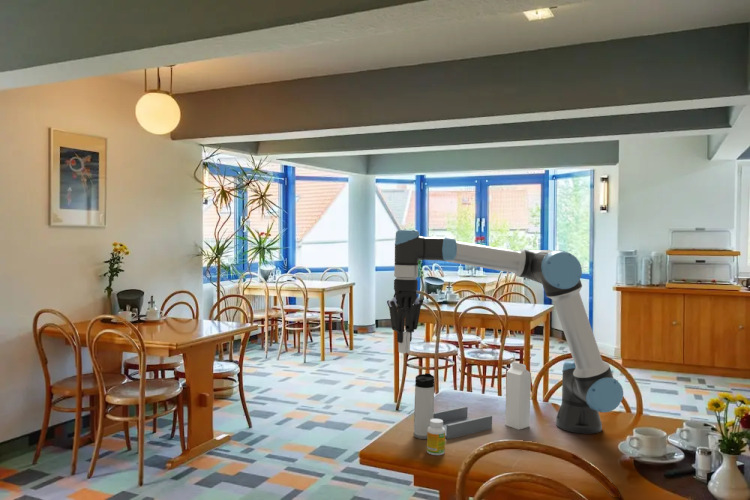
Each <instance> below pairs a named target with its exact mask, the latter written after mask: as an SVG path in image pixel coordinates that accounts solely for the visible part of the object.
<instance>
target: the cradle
mask: <svg viewBox="0 0 750 500" xmlns="http://www.w3.org/2000/svg"><path fill="white" fill-rule="evenodd" d="M468 408H469V407H468V406H467V405H464V406H461V407H455V408H451V409H446V410H441V411H435V412H434V416H433V419H441V420H443V426H442V427H443V428H444V429H445V439H447V440H451V439H455V438H459V437H463V436H468V435H472V434H475V433H479V432H484V431H488V430H492V429H493V415H491V414H490V415H485V416H480V417H475V418H471V417H469V416H468V412H469V411H468Z"/></svg>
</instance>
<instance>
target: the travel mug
mask: <svg viewBox="0 0 750 500" xmlns="http://www.w3.org/2000/svg"><path fill="white" fill-rule="evenodd" d="M434 403H435V376H434V375H432V373H421V374H418V375H417V374H416V376H415V382H414V410H413V411H414V412H413V413H414V414H413V415H414V417H413V421H414V422H413V436H414V438H417V439H419V440H427V430H428V427H430V420H431V419H433V416H434V413H435V412H434V408H435V405H434Z"/></svg>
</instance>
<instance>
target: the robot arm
mask: <svg viewBox="0 0 750 500" xmlns="http://www.w3.org/2000/svg"><path fill="white" fill-rule="evenodd" d="M394 239H395V241H394V270H393V272H394V275H393V276H394V277H395V278H394V279H393V290H394V294H393V298H392V299H390V300H387V301H386V303H387V304H386V305H387V306H388V309H389V316H390V323H391V329H392V331H394V332H396V334H397V335H396V336H397V337H396V341H397V343H398V353H401V354H403V355H405V354H410V353H411V352H410V351H411V342H412V338H413V337H412V335H413V333H414V332H415V330H417V329H418V327H419V325H418V324H419V319H420V314H421V308H422V305H423V303H424V299H420V298H419V297H418V294H417V292H418V287H419V286H418V283H419V281H418V279H417V278H418V277H419V261H441V262H448V263H452V264H453V263H454V264H460V265H465V266H470V267H478V268H482V269H489V270H495V271H501V272H505V273H507V272H508V273H512V274H514V275H515V276H516V277H517V278H525V279H528V280H531V281H533V282H537V283H538V284H542V288H543V289H544V294H545V296H546V298H549V299H551V300H552V302H553V304H554V307H555V310H556V313H557V315H558V316H557V317H558V319H559V322H560V325H561V328H562V331H563V333H564V336H565V340H566V342H567V345H568V348H569V351H570V354H571V358H572V360H568V361H567V360H566V361H565V362H564V363H563V366H562V371H561V372H562V377H561V378H562V384H561V387H562V388H561V404H560V407H559V408H558V412H557V414H556V419H555V425H556V426H557V427H558V428H559V429H561V430H564V431H566V432H571V433H575V434H576V433H577V434H585V435H591V434H593V435H594V434H598V433H600V432H602V430H603V429H602V428H603V426H602V425H603V424H602V420H601V417H600V413H610V412H613V411H614V410H615V409H617V408H618V407H619V406H620V404H621V402H622V401H623V398H624V388H623V387H622V384H621V383H620V382H619V380H618V379H616V378H614V375H613V372H612V369H611V367H610V364H609V363H608V362H606V361H604V360H603V358H602V355H601V353H600V349H599V347H598V344H597V343H598V342H597V341H596V337H595V335H594V332H593V328H592V326H591V323H590V320H589V318H588V314H587V311H586V309H585V306H584V302H583V300H582V296H581V293H580V291H581V289H582V288H583V285H582V284H583V283H582V281H581V277H582V274H583V270H582V265H581V262H580V261H579V259H578V258H577V257H576V256H575V255H573V254H572V253H569V252H568V251H565V250H561V249H559V250H558V249H557V250H550V249H542V250H538V249H537V250H534V249H533V250H531V249H523V248H522V249H519V250H512V249H506V248H500V247H495V246H488V245H482V244H477V243H470V242H465V241H464V242H463V241H459V240H458V241H457V240H456V238H454V237H448V236H431V235H429V236H421V235H420V231H419V230H417V229H399V230H397V231H395V238H394Z"/></svg>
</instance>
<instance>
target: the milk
mask: <svg viewBox="0 0 750 500" xmlns="http://www.w3.org/2000/svg"><path fill="white" fill-rule="evenodd" d="M531 382H532V373H531V372H530V370H528V369H527V366H526V364H523V363H519V362H516V361H512V362H511V366H510V367H509V369H508V370H507V371H506V381H505V385H506V386H505V411H504V412H505V416H504V417H505V418H504V425H505V426H506V427H510V428H513V429H515V430H522V429H526V428H529V427H530V421H531V420H530V418H531V417H530V416H531V414H530V413H531V389H532V387H531V386H532V385H531V384H532V383H531Z"/></svg>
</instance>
